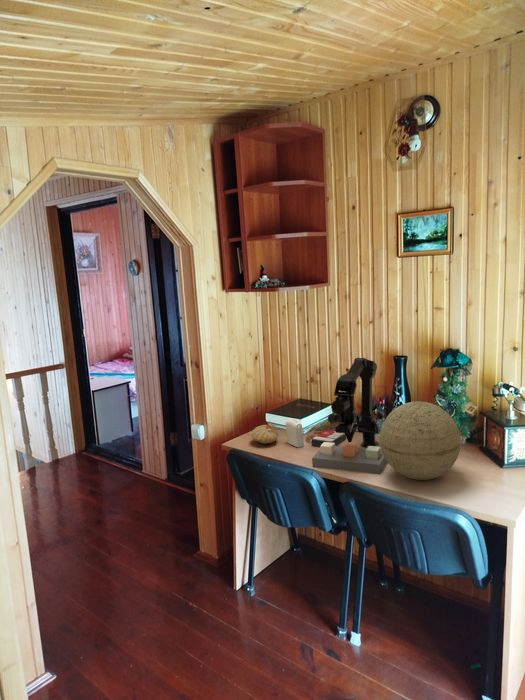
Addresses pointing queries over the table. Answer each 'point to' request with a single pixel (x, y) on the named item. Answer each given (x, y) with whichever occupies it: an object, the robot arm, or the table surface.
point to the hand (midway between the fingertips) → (349, 442)
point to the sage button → (373, 452)
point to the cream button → (327, 448)
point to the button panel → (349, 461)
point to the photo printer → (294, 433)
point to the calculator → (328, 438)
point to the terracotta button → (350, 450)
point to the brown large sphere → (420, 440)
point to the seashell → (264, 434)
